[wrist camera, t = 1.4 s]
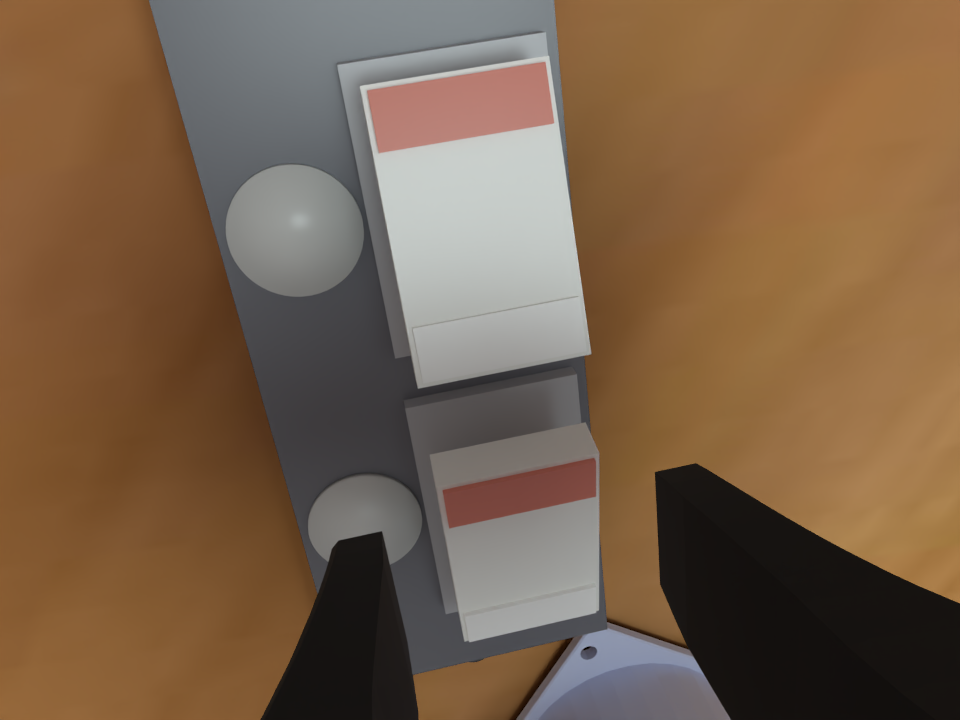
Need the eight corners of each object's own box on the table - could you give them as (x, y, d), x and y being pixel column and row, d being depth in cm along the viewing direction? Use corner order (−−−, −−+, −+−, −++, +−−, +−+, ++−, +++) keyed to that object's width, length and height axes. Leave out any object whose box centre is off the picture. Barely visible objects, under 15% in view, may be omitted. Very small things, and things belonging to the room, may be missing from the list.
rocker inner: (587, 579, 20) (600, 614, 19) (457, 608, 19) (465, 645, 19) (585, 422, 16) (600, 456, 16) (429, 455, 16) (437, 491, 15)
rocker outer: (578, 344, 16) (593, 355, 15) (415, 377, 15) (418, 390, 14) (537, 63, 15) (550, 54, 14) (359, 92, 14) (359, 84, 13)
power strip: (583, 607, 25) (622, 700, 21) (354, 661, 24) (358, 764, 21) (514, -89, 17) (559, -106, 13) (164, -39, 16) (124, -45, 13)
